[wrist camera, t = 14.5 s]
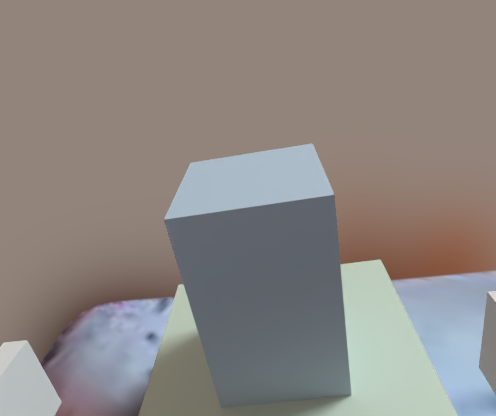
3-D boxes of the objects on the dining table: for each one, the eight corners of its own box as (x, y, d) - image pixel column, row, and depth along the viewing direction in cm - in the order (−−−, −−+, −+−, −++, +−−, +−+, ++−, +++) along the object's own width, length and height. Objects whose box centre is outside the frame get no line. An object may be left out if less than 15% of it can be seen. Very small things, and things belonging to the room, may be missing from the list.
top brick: (381, 305, 28) (380, 259, 26) (482, 544, 15) (491, 484, 13) (191, 327, 29) (178, 284, 27) (139, 561, 17) (109, 510, 15)
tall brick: (329, 306, 23) (312, 143, 19) (351, 395, 17) (334, 194, 13) (229, 318, 23) (190, 162, 19) (220, 407, 18) (163, 219, 14)
